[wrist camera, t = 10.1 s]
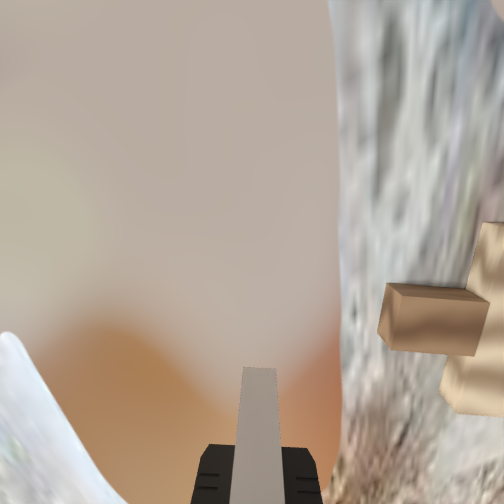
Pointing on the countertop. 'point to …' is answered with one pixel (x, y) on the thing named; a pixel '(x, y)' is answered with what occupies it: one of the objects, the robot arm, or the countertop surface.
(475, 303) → the block
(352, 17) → the countertop surface
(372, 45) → the countertop surface
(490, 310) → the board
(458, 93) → the countertop surface
